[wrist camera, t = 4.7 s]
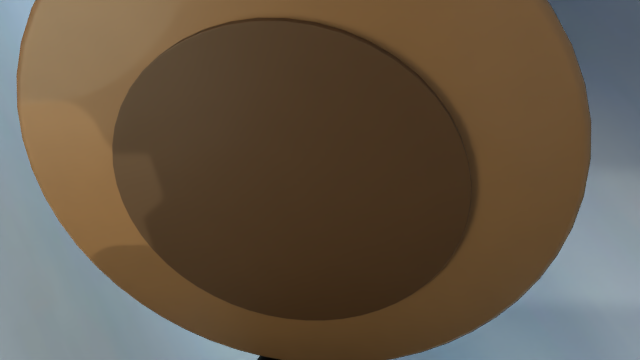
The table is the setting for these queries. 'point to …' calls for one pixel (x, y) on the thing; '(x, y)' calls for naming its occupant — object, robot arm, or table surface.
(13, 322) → the table surface
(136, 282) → the paper towel roll
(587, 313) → the table surface
